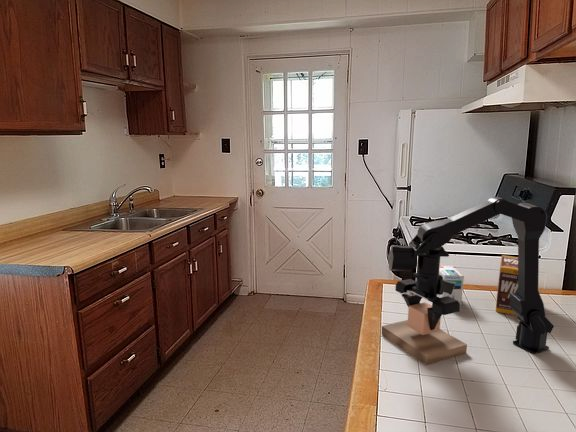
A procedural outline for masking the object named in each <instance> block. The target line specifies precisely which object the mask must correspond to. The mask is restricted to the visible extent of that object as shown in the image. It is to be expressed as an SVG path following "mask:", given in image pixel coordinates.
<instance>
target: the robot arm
mask: <svg viewBox="0 0 576 432" xmlns="http://www.w3.org/2000/svg"><path fill="white" fill-rule="evenodd" d="M499 215H502V216H505V217H509V218H511V221H512V226H513V229H514V231H515V233H516V235H517V244H518V245H517V257H518V289H517V290H516V292H515V293H510V294H509V295H510V304H509V306H510V307H511V308H512V311H513V312H514V313H515V314H516V315H515V316H516V318H517V319H518V320H519V322H518V325H516V331H515V332H516V333H515V340H513V341H512V344H513V345H516V346H517V347H520V348H522V349H523V350H525V351H527V352H530V353H531V354H538V353H542V352H544V351H548V350H550V346H548V345H547V339H548V334H551V333H552V331H553V329H554V328H555V325H554V324H553V323H552V322H551V321H550V320H549V319H548V318H547V317H546V309H545V305H544V301H543V299H542V296H541V294H540V292H539V276H540V275H539V271H540V270H539V265H540V264H539V263H540V261H539V257H540V248H539V247H540V238H541V237H542V235H543V234H544V232H545V230H546V225H547V219H548V214H547V212H546V211H545V210H544V209H543V208H542V207H539V206H536V205H534V204H531V203H528V202H520V203H518V204H517V203H515V202H511V201H508V200H507V199H504V198H501V197H499V196H492V197H490V198H489V199H488V200H485V201H484V202H481V203H479V204H477V205H475V206H471V207H470V208H468V209H466V210H463V211H462V212H459V213H457V214H455V215H453V216H450V217H449V218H444V219H439V220H438V219H437V220H434V221H433V220H432V221H429V222H426V223H423V224H422V225H420V226H419V227H418V228H417V229H418V230H417V232H416V233H417V234H416V235H415V236H414V237H413V238H412V239H411V240H410V241H409V243H408V245H396V244H392V245H391V246H390V250H389V252H388V253H389V254H388V259H387V261H388V262H387V263H388V269H389V271H395V272H412V271H413V270H415V269H416V272H413V273H412V277H413V278H414V279H415V280H414V279H412V278H406V279H403V280H398V281H397V282H396V284H395V292H397V293H400V294H401V297H402V298H403V299H404V301H405V303H406V306H407V308H408V309H409V306H410V305H415V304H419V303H421V301H422V299H425V300H426V301H428V302H431V305H432V307H431V308H427V312H428V319H429V326H430V330H434V329H435V327H436V325H437V323H438V321H439V319H440V317H441V318H442V316H446V315H450V314H455V313H458V312H460V311H461V305H460V303H459V302H458V301H457V300H455V299H453V298H451V297H448V296H446V297H442V298H439V297H437V294H439V295H442V294H443V292H445V293H449V294H450V295H451V294H452V292H453V289H454V286H455V284H454V283H451V282H449V281H447V280H444V279H443V277H442V275H439V268H440V266H441V264H440V263H441V257H445V258H446V257H447V258H449V256H450V254H449V253H448V252H447V251H446V250H445V248H444V247H443V246H444V245H446V244H448V243H449V242H450V241H451V240H452V239H453V238H454V237H455V236H457V235H458V234H459V233H462V232H464V231H466V230H468V229H471V228H472V227H474V226H477V225H479V224H482V223H484V222H485V221H488V220H491V219H493V218H494V217H497V216H499Z"/></svg>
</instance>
